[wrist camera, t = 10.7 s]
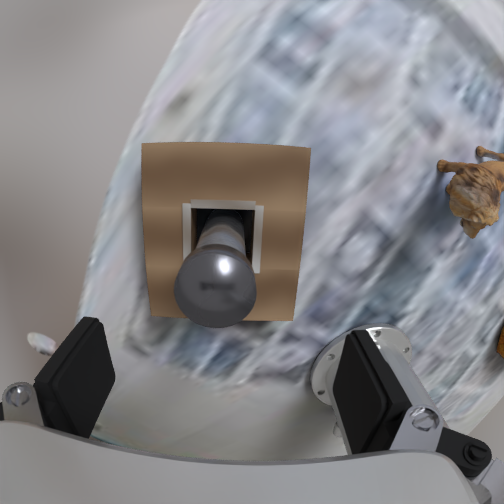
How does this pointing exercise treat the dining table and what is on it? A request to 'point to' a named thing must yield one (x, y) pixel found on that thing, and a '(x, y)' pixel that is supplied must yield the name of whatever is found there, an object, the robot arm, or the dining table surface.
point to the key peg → (217, 274)
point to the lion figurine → (475, 190)
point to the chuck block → (225, 197)
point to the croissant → (501, 344)
